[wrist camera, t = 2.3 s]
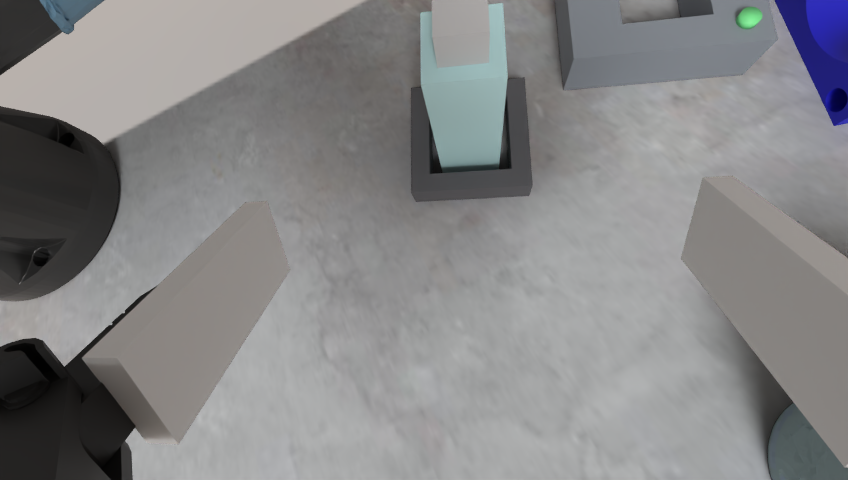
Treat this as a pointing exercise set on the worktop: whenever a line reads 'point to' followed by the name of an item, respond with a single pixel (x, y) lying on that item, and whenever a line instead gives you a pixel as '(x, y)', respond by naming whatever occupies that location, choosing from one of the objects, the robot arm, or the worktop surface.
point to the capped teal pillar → (465, 81)
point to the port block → (660, 42)
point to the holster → (472, 182)
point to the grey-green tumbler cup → (801, 451)
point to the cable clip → (822, 48)
